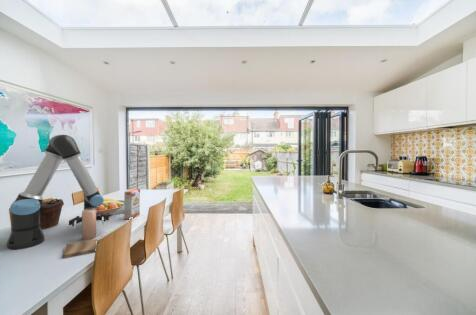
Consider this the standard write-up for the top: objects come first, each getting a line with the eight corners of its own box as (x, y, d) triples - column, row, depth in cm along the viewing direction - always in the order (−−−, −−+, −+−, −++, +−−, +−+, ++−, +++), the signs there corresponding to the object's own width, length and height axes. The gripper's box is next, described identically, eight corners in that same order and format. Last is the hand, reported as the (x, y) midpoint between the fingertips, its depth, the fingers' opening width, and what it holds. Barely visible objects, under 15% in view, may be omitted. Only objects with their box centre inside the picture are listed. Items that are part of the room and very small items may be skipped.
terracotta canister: (81, 240, 128) (81, 213, 127) (82, 236, 133) (82, 210, 133) (96, 238, 131) (96, 211, 131) (96, 234, 137) (96, 208, 136)
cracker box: (131, 219, 166) (131, 191, 165) (123, 219, 166) (123, 191, 165) (140, 214, 180) (140, 188, 179) (133, 213, 180) (133, 188, 179)
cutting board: (62, 258, 108) (62, 255, 108) (66, 247, 119) (66, 244, 119) (97, 251, 115) (97, 248, 115) (97, 241, 127) (97, 239, 127)
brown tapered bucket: (71, 221, 159) (70, 196, 159) (44, 231, 140) (43, 203, 139) (48, 220, 161) (48, 195, 160) (19, 230, 141) (17, 202, 141)
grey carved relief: (141, 211, 186) (140, 203, 186) (106, 217, 172) (105, 209, 172) (137, 209, 199) (137, 201, 199) (105, 214, 185) (104, 206, 185)
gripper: (111, 217, 154) (113, 226, 136) (66, 223, 141) (62, 234, 123) (111, 206, 154) (113, 214, 136) (66, 211, 141) (62, 221, 123)
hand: (89, 224), depth 130 cm, fingers open, 13 cm apart
